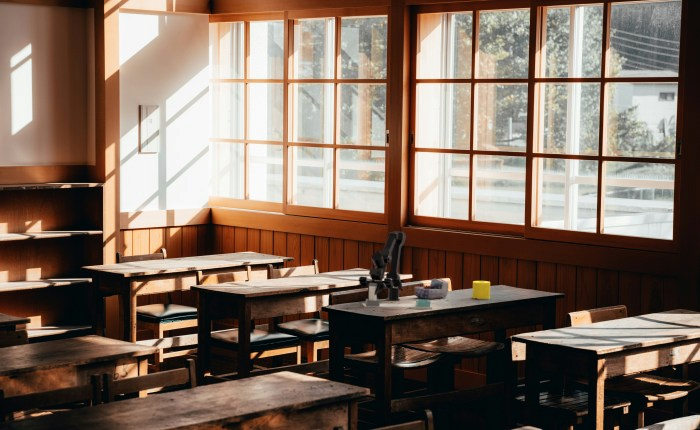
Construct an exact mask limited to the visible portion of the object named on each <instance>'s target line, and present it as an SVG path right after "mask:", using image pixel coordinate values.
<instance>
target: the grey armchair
mask: <svg viewBox="0 0 700 430" xmlns="http://www.w3.org/2000/svg"><path fill="white" fill-rule="evenodd" d="M448 292H449V282H447V281H443V280H441V279H437V278H433V279H432V280H431V281H430V285H424V286H414V293H415V295H414V296H415V297H416V298H419V299H420V300H434V299H442V298H443V297H444V298H445V297H447V296H448Z"/></svg>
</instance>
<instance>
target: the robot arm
mask: <svg viewBox="0 0 700 430" xmlns="http://www.w3.org/2000/svg"><path fill="white" fill-rule="evenodd" d="M406 239H407V235H406V233H405V232H404V231H392V232H388V235H387V240H386V242H385V243H384V246H383V249H381V250H380V251H376V252H375V253H373V254H372V255H371V260H372V262H373V265H374V267H375V268H373V267H371V268H369V272H368V275H370V278H368V276H359V277H358V282H359V285H360V286H361V287H364V288H365V287H367V294H368V295H369V283H377V288H376V290H375V295H376V294H377V295H378V293H380V292H381V291H383V290H385V289H386V290H388V297H387V300H388V301H400V298H399V296H400V295H399V292H400V291H401V290H403V284H402V283H403V282H402V281H401V276H400V274H399V266H400V257H401V250H402V247H403V246H404V244H405V240H406ZM387 265H390V267H389V268H390V269H389V270H388V269H387V268H388V266H387ZM387 270H388V272H387ZM386 272H387V273H386ZM385 273H386V275H385Z"/></svg>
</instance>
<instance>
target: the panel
mask: <svg viewBox="0 0 700 430" xmlns="http://www.w3.org/2000/svg"><path fill="white" fill-rule="evenodd" d="M362 305H363V307H365V308H366V307H369V308H371V307H372V308H373V307H374V308H375V307H376V308H377V307H378V308H380V307H381V308H387V307H389V308H406V310H415V309H416V310H419V309H420V310H432V309H433V306H432V305H431V301H430V299H416V300H415V303H381V302H380V299H379V298H377V299H376V300H369V298H365V303H363V302H362Z"/></svg>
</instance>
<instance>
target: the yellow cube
mask: <svg viewBox="0 0 700 430" xmlns="http://www.w3.org/2000/svg"><path fill="white" fill-rule="evenodd" d="M472 298H473V299H475V298H477V299H476V300H489V299H491V282H490V281H486V280H474V281H472Z"/></svg>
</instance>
